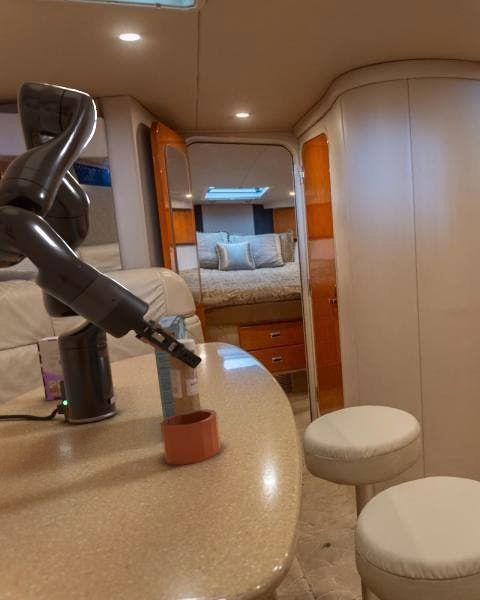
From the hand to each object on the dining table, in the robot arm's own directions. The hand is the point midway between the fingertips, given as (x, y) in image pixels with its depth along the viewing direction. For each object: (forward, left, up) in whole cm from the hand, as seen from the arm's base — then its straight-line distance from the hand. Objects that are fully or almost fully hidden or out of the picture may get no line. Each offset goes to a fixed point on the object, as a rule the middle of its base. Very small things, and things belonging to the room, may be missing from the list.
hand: (193, 361), depth 94 cm
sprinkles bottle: (-1, -1, -9) cm, 9 cm away
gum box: (-14, +15, -18) cm, 27 cm away
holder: (-1, -1, -17) cm, 17 cm away
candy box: (-59, +37, -18) cm, 72 cm away
